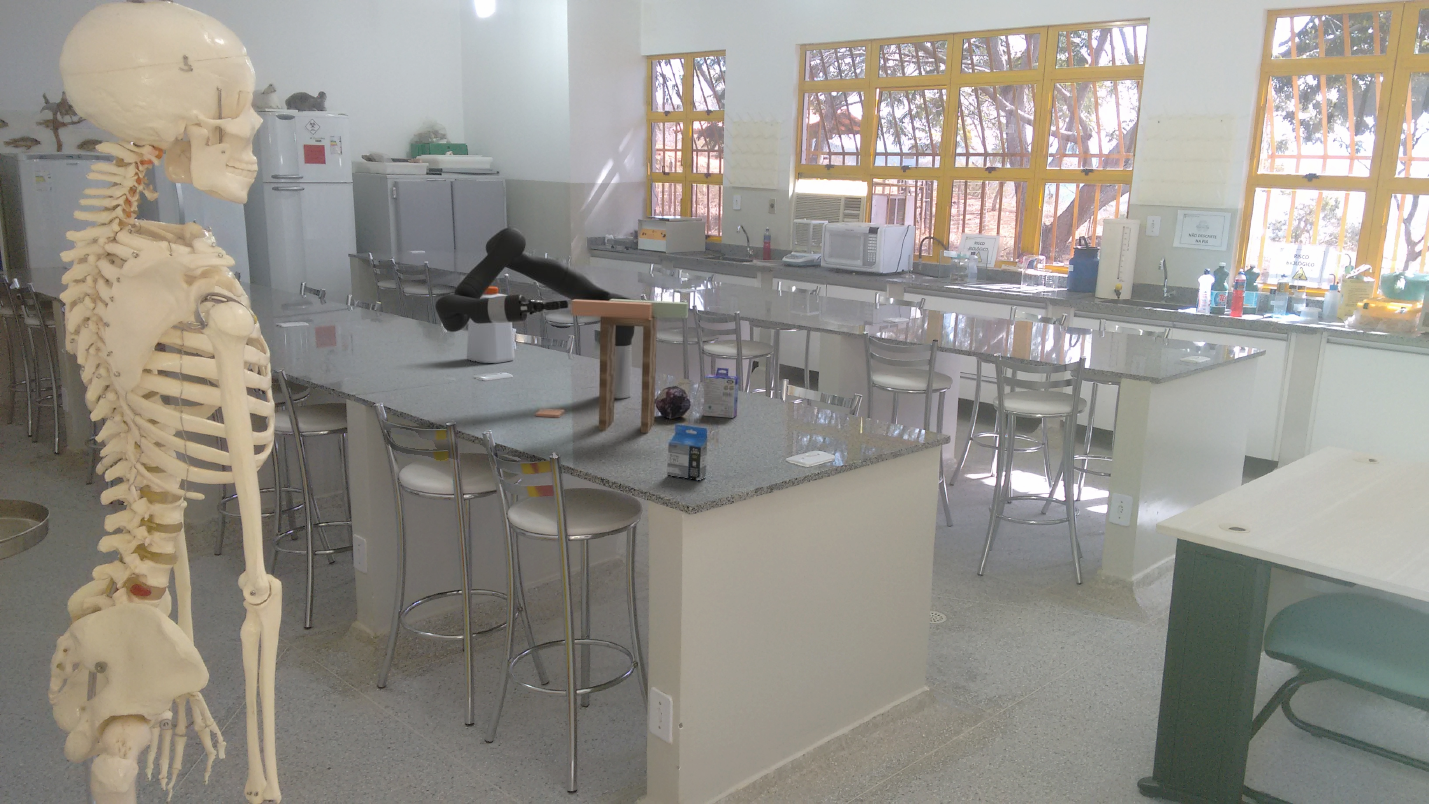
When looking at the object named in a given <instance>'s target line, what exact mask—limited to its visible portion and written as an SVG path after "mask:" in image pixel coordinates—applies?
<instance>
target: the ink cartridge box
mask: <svg viewBox="0 0 1429 804" xmlns="http://www.w3.org/2000/svg"><path fill="white" fill-rule="evenodd" d="M719 371H725V372H719ZM703 384H704V386H703V387H704V388H703V408H702V409H703V411H702V412H703V413H702V416H705V417H717V418H731V419H734V418H735V417H737V416H738V400H739V399H738V398H739V376H737V375H736V376H735V375H729V368H727V367H716V373H715V374H707V375H706V376H704V383H703Z"/></svg>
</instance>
